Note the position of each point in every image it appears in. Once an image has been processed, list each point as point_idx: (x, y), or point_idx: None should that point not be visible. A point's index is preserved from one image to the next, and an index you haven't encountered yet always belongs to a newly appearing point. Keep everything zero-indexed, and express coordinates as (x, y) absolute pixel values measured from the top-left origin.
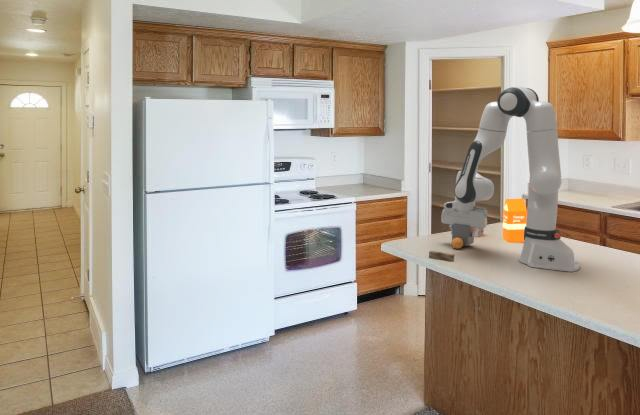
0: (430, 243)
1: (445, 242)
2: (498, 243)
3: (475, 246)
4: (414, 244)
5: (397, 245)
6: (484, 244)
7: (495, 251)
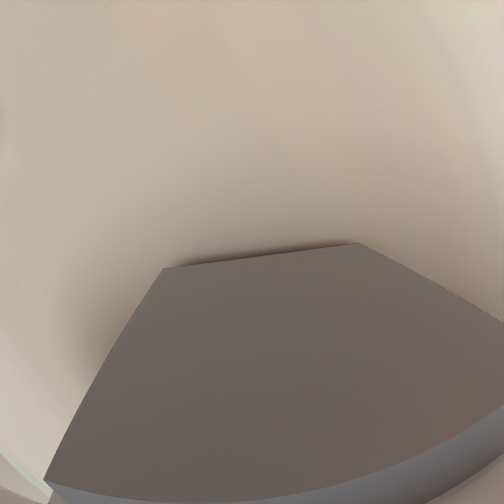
0: (56, 404)
1: (77, 309)
2: (425, 16)
3: (365, 242)
4: (49, 456)
5: (46, 487)
6: (387, 102)
7: (491, 274)
